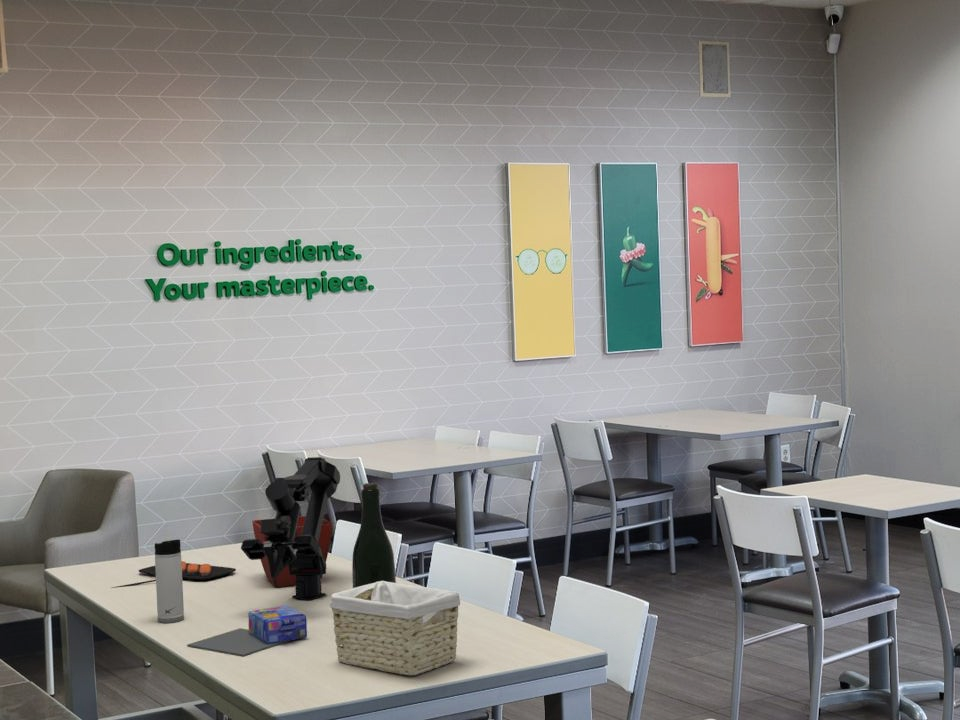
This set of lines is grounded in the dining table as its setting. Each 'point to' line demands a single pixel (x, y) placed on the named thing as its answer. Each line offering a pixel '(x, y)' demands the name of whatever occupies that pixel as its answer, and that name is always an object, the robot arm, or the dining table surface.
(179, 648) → the dining table surface
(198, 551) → the dining table surface
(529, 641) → the dining table surface
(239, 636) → the mat
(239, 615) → the dining table surface
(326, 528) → the plant pot
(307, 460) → the robot arm
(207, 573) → the sushi plate
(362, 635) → the storage basket
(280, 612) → the ink cartridge box
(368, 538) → the green wine bottle
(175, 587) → the travel mug
